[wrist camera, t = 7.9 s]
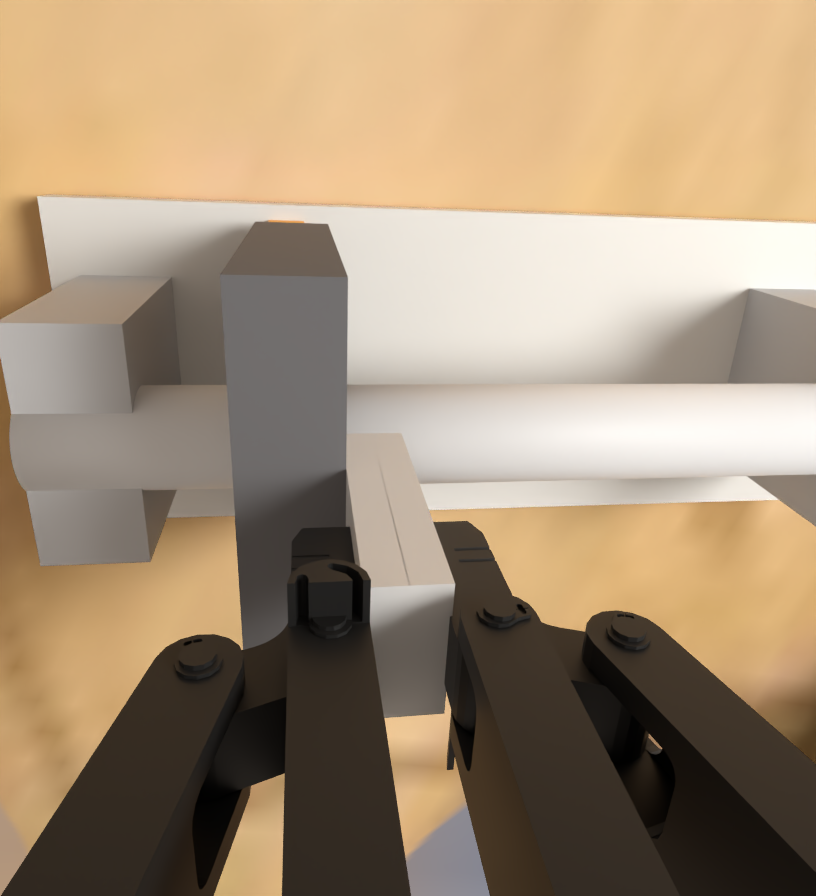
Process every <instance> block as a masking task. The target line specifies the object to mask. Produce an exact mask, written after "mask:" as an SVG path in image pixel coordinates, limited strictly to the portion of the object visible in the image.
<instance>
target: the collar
mask: <svg viewBox="0 0 816 896" xmlns="http://www.w3.org/2000/svg"><path fill="white" fill-rule="evenodd" d="M220 284H221V300H222V316H223V332H224V348H225V364H226V381H227V397H228V413H229V429H230V445H231V461H232V477H233V493H234V509H235V525H236V541H237V557H238V573H239V589H240V605H241V621H242V637H243V650H245V649H249V648H252V647H255V646H258V645H261V644H263V643H266V642H268V641H269V640H271V639H273V638H275V637H276V636H277V635H278V634H279V633H281V632H282V631H283V630H284V628H285V627H286V625H287V624H288V602H287V582H288V580H289V577H290V574H291V552H292V540H293V539H294V538H295V537H296V535H297V534H298V533H299V531H300V530H301V529H302V528H320V527H346V444H347V328H348V276H347V273H346V271H345V268H344V265H343V263H342V260H341V257H340V255H339V252H338V250H337V247H336V244H335V242H334V239H333V236H332V234H331V231H330V228H329V226H328V224H316V223H284V222H255V223H254V224H253V226H252V227H251V229H250V230H249V232H248V233H247V235H246V236H245V238H244V239H243V241H242V242H241V244H240V245H239V247H238V248H237V250H236V251H235V253H234V254H233V256H232V257H231V259H230V260H229V262H228V263H227V265H226V266H225V268H224V269H223V271H222V272H221V274H220Z"/></svg>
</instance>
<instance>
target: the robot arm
mask: <svg viewBox="0 0 816 896" xmlns="http://www.w3.org/2000/svg"><path fill="white" fill-rule="evenodd" d="M287 602H288V624H287V625H286V627H285V628H284V630H283V631H282V632H281V633H279V634H278V635H277V636H276V637H275V638H273V639H271V640H269V641H268V642H266V643H263V644H261V645H258V646H255V647H252V648H249V649H245V650H241V648H240V646H239V645H238V644H236V643H235V642H234V641H232V640H231V639H229V638H226V637H222V636H218V635H214V634H212V635H195V636H191V637H188V638H184V639H180V640H178V641H177V642H175V643H173V644H171V645H169V646H167V647H166V648H165V649H164V650H163V651H162V652H161V653H160V654H159V655H158V656H157V657H156V658H155V660H154V661H153V663H152V664H151V666H150V667H149V669H148V670H147V672H146V673H145V675H144V676H143V678H142V680H141V681H140V683H139V684H138V686H137V687H136V689H135V690H134V692H133V693H132V695H131V696H130V698H129V700H128V701H127V703H126V704H125V706H124V707H123V709H122V710H121V712H120V713H119V715H118V716H117V718H116V720H115V721H114V723H113V724H112V726H111V727H110V729H109V730H108V732H107V733H106V735H105V736H104V738H103V740H102V741H101V743H100V744H99V746H98V747H97V749H96V750H95V752H94V753H93V755H92V756H91V758H90V759H89V761H88V763H87V764H86V766H85V767H84V769H83V770H82V772H81V773H80V775H79V776H78V778H77V779H76V781H75V783H74V784H73V786H72V787H71V789H70V790H69V792H68V793H67V795H66V796H65V798H64V799H63V801H62V803H61V804H60V806H59V807H58V809H57V810H56V812H55V813H54V815H53V816H52V818H51V819H50V821H49V823H48V824H47V826H46V827H45V829H44V830H43V832H42V833H41V835H40V836H39V838H38V839H37V841H36V843H35V844H34V846H33V847H32V849H31V850H30V852H29V853H28V855H27V856H26V858H25V859H24V861H23V862H22V864H21V866H20V867H19V869H18V870H17V872H16V873H15V875H14V876H13V878H12V879H11V881H10V883H9V884H8V886H7V887H6V889H5V890H4V892H3V893H2V895H1V896H214V893H215V890H216V887H217V885H218V882H219V879H220V876H221V874H222V871H223V868H224V865H225V862H226V860H227V857H228V854H229V851H230V849H231V846H232V843H233V840H234V838H235V835H236V832H237V829H238V827H239V824H240V821H241V818H242V815H243V813H244V810H245V807H246V804H247V802H248V799H249V796H250V789H251V785H254V784H257V783H259V782H262V781H265V780H267V779H270V778H273V777H275V776H278V775H281V774H283V773H285V790H284V834H283V878H282V896H411V893H410V886H409V880H408V873H407V867H406V860H405V853H404V846H403V840H402V833H401V826H400V820H399V813H398V806H397V800H396V793H395V786H394V780H393V773H392V766H391V760H390V753H389V747H388V740H387V733H386V727H385V720H384V718H389V717H402V716H416V715H429V714H443V713H444V710H445V698H446V692H447V695H448V699H449V703H450V707H451V720H450V731H449V742H448V753H447V770H452V769H453V767H454V758H455V759H456V762H457V766H458V770H459V774H460V778H461V782H462V786H463V790H464V794H465V798H466V802H467V806H468V810H469V814H470V818H471V822H472V826H473V830H474V834H475V838H476V842H477V846H478V849H479V854H480V858H481V862H482V866H483V870H484V873H485V877H486V881H487V885H488V889H489V893H490V896H816V764H815V763H814V762H813V761H812V760H810V759H809V758H808V757H807V756H806V755H805V754H804V753H802V752H801V751H800V750H799V749H798V748H797V747H796V746H794V745H793V744H792V743H791V742H790V741H789V740H788V739H787V738H785V737H784V736H783V735H782V734H781V733H780V732H779V731H777V730H776V729H775V728H774V727H773V726H772V725H771V724H769V723H768V722H767V721H766V720H765V719H764V718H763V717H761V716H760V715H759V714H758V713H757V712H756V711H755V710H753V709H752V708H751V707H750V706H749V705H748V704H747V703H746V702H744V701H743V700H742V699H741V698H740V697H739V696H738V695H736V694H735V693H734V692H733V691H732V690H731V689H730V688H728V687H727V686H726V685H725V684H724V683H723V682H722V681H720V680H719V679H718V678H717V677H716V676H715V675H714V674H713V673H711V672H710V671H709V670H708V669H707V668H706V667H705V666H703V665H702V664H701V663H700V662H699V661H698V660H697V659H695V658H694V657H693V656H692V655H691V654H690V653H689V652H687V651H686V650H685V649H684V648H683V647H682V646H681V645H679V644H678V643H677V642H676V641H675V640H674V639H673V638H672V637H670V636H669V635H668V634H667V633H666V632H665V631H664V630H662V629H661V628H660V627H659V626H657V625H656V624H654V623H653V622H651V621H650V620H648V619H646V618H644V617H641V616H639V615H636V614H633V613H629V612H623V611H606V612H601V613H599V614H596V615H594V616H592V617H591V619H590V620H589V621H588V623H587V625H586V631H585V632H583V631H577V630H571V629H564V628H559V627H555V626H550V625H547V624H544V623H542V622H541V621H540V619H539V617H538V615H537V613H536V612H535V611H534V609H533V608H532V607H531V606H530V605H529V604H528V603H526V602H524V601H523V600H521V599H519V598H517V597H514V596H512V594H511V591H510V589H509V587H508V585H507V583H506V581H505V579H504V577H503V575H502V573H501V571H500V568H499V566H498V564H497V562H496V561H495V558H494V556H493V554H492V552H491V550H489V545H488V543H487V541H486V539H485V537H484V535H483V533H482V532H481V531H479V530H478V529H477V528H476V527H474V526H473V525H472V524H470V523H469V522H468V521H457V522H433V520H432V517H431V515H430V512H429V509H428V506H427V503H426V501H425V498H424V495H423V492H422V489H421V487H420V484H419V481H418V478H417V475H416V473H415V470H414V467H413V464H412V461H411V459H410V456H409V453H408V450H407V447H406V445H405V442H404V439H403V436H402V433H352V434H347V444H346V527H320V528H302V529H301V530H300V531H299V533H298V534H297V535H296V537H295V538H294V539H293V540H292V552H291V574H290V577H289V580H288V582H287ZM649 734H650V735H651V736H652V737H653V738H654V739H655V740H656V742H657V743H658V744H659V745H660V746H661V747H662V748H663V749H662V750H661V749H659V748H658V747H657V746H656V745H655V744H654V743H653V742H652V741H651V740H650V739H649V738H648V736H649Z"/></svg>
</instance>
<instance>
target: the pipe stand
mask: <svg viewBox="0 0 816 896" xmlns="http://www.w3.org/2000/svg"><path fill="white" fill-rule="evenodd" d="M37 199H38V205H39V212H40V218H41V224H42V231H43V237H44V244H45V250H46V256H47V263H48V269H49V275H50V282H51V288H52V291H51V292H49V293H47V294H45V295H43V296H42V297H40V298H38V299H36V300H34V301H33V302H31V303H29V304H27V305H25V306H24V307H22V308H20V309H18V310H16V311H15V312H13V313H11V314H9V315H7V316H5V317H4V318H2V319H0V358H1V363H2V368H3V373H4V379H5V384H6V389H7V394H8V399H9V405H10V410H11V419H10V431H9V441H10V454H11V460H12V465H13V469H14V472H15V475H16V477H17V480H18V482H19V484H20V485H21V486H22V488H23V489H24V490H25V491H26V493H27V498H28V503H29V508H30V514H31V519H32V524H33V529H34V534H35V540H36V545H37V550H38V555H39V560H40V566H58V565H84V564H110V563H136V562H151V559H152V556H153V554H154V551H155V548H156V545H157V543H158V540H159V537H160V535H161V532H162V529H163V526H164V524H165V521H166V518H178V517H212V516H235V509H234V493H233V477H232V461H231V445H230V429H229V413H228V397H227V381H226V364H225V348H224V332H223V316H222V300H221V284H220V274H221V272H222V271H223V269H224V268H225V266H226V265H227V263H228V262H229V260H230V259H231V257H232V256H233V254H234V253H235V251H236V250H237V248H238V247H239V245H240V244H241V242H242V241H243V239H244V238H245V236H246V235H247V233H248V232H249V230H250V229H251V227H252V226H253V224H254V223H255V222H284V223H316V224H328V226H329V228H330V231H331V234H332V236H333V239H334V242H335V244H336V247H337V250H338V252H339V255H340V257H341V260H342V263H343V265H344V268H345V271H346V273H347V276H348V328H347V434H352V433H402V436H403V439H404V442H405V445H406V447H407V450H408V453H409V456H410V459H411V461H412V464H413V467H414V470H415V473H416V475H417V478H418V481H419V484H420V487H421V489H422V492H423V495H424V498H425V501H426V503H427V506H428V509H429V510H448V509H482V508H515V507H549V506H583V505H616V504H650V503H684V502H717V501H751V500H780V501H782V502H783V503H784V504H786V505H787V506H788V507H790V508H791V509H793V510H794V511H795V512H797V513H798V514H799V515H801V516H802V517H804V518H805V519H806V520H808V521H809V522H810V523H812V524H813V525H815V526H816V222H809V221H781V220H753V219H725V218H697V217H669V216H641V215H613V214H585V213H557V212H529V211H501V210H473V209H445V208H417V207H389V206H361V205H333V204H305V203H277V202H249V201H221V200H193V199H165V198H137V197H109V196H81V195H53V194H49V195H42V196H37Z"/></svg>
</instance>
